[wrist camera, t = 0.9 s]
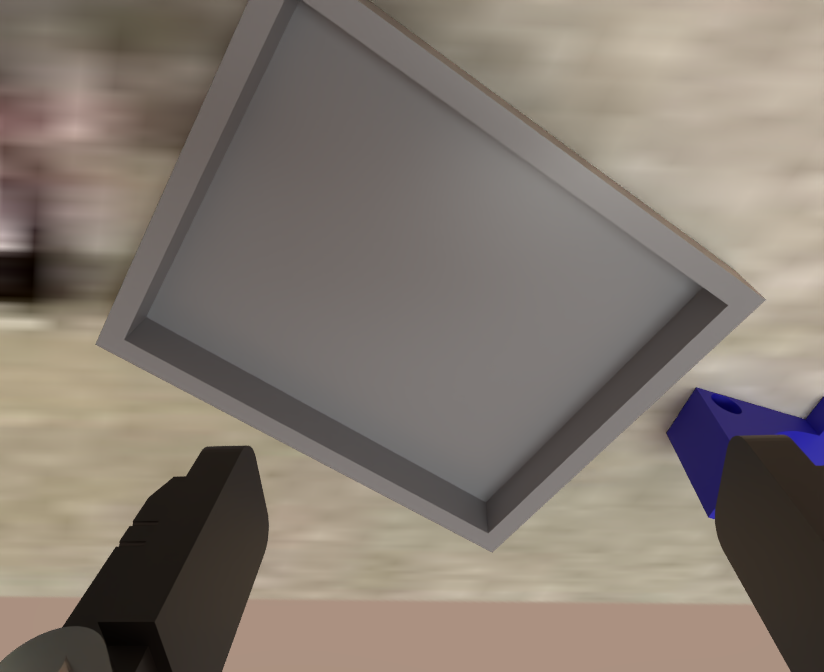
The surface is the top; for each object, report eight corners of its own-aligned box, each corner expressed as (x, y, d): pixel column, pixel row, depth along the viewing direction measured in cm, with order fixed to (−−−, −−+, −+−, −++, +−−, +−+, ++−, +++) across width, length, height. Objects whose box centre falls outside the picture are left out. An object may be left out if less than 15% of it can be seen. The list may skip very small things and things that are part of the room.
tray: (297, -52, 21) (275, -60, 19) (734, 270, 26) (765, 299, 24) (127, 314, 29) (95, 344, 27) (489, 510, 34) (492, 552, 32)
